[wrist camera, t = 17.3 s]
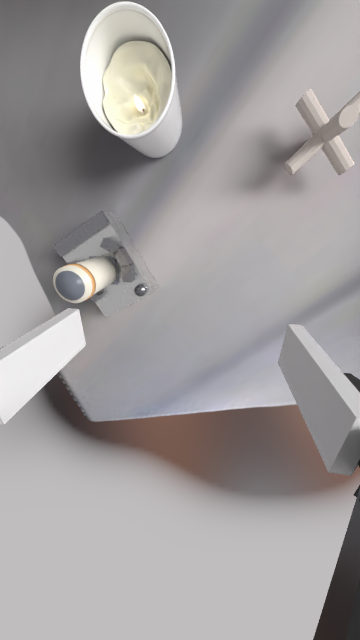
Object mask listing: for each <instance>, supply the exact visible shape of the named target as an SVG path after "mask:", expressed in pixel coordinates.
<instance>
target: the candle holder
mask: <svg viewBox="0 0 360 640" xmlns="http://www.w3.org/2000/svg"><path fill="white" fill-rule="evenodd" d="M80 74H81V82H82V88H83V92H84V95H85V98H86V101H87V104H88V106H89V108H90V110H91V112H92V113H93V115H94V117H95V118H96V119H97V121H98V122H99V123H100V124H101V125H102V126H103V127H104V128H105V129H106V130H107V131H109V132H110V133H112V134H113V135H115V136H117V137H119V138H120V139H121V140H123V141H124V142H126V143H127V144H129V145H130V146H131V147H133V148H134V149H136V150H137V151H139V152H140V153H142V154H143V155H145V156H148V157H151V158H160V157H163V156H165V155H167V154H168V153H170V152H171V151H172V150H173V149H174V147H175V146H176V144H177V143H178V140H179V138H180V135H181V131H182V112H181V105H180V99H179V92H178V86H177V80H176V73H175V62H174V56H173V51H172V47H171V44H170V41H169V39H168V36H167V34H166V32H165V30H164V28H163V26H162V25H161V23H160V22H159V20H158V19H157V18H156V17H155V16H154V15H153V14H152V13H151V12H150V11H149V10H148V9H146V8H145V7H143V6H141V5H139V4H137V3H133V2H127V1H124V2H117V3H114V4H111V5H109V6H108V7H106V8H105V9H103V10H102V11H101V12H100V13H99V14H98V15H97V16H96V17H95V19H94V20H93V21H92V23H91V25H90V27H89V28H88V31H87V33H86V36H85V38H84V42H83V46H82V51H81V59H80Z"/></svg>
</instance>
